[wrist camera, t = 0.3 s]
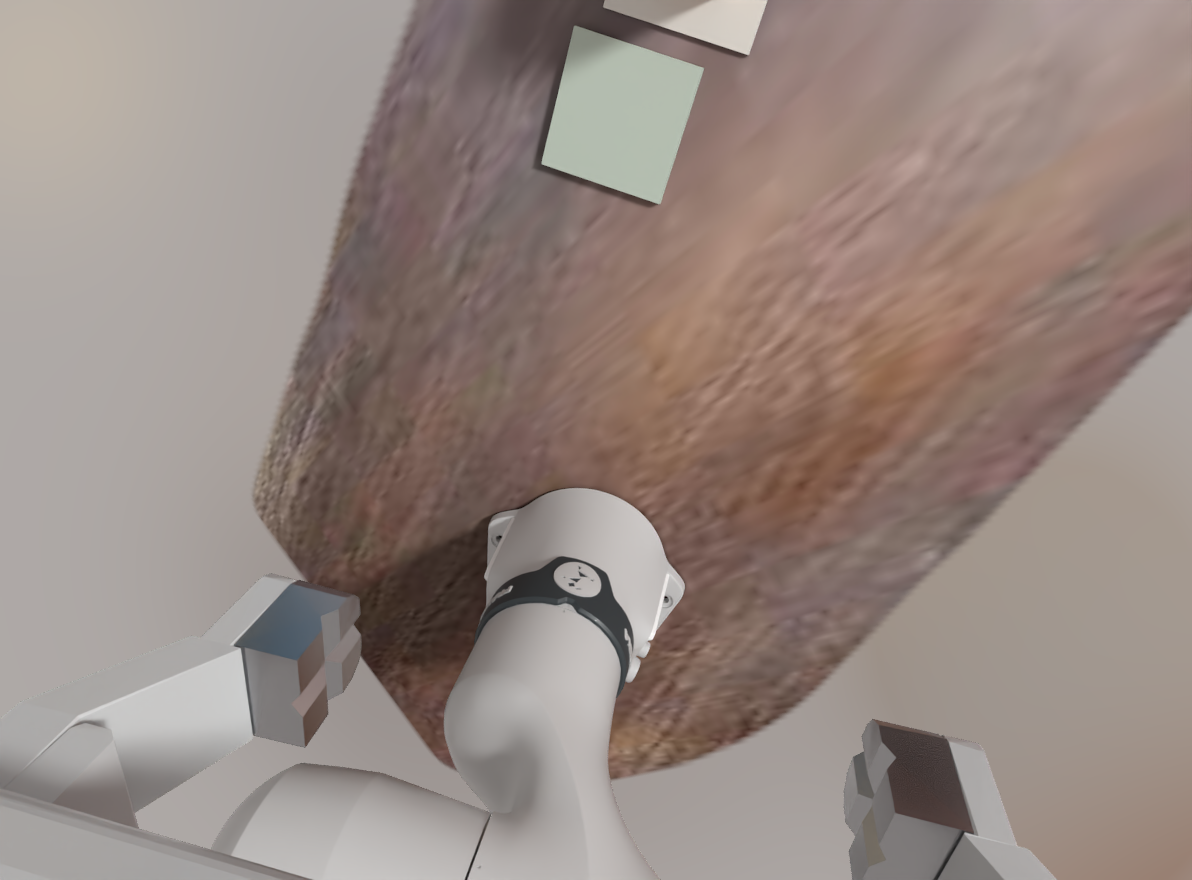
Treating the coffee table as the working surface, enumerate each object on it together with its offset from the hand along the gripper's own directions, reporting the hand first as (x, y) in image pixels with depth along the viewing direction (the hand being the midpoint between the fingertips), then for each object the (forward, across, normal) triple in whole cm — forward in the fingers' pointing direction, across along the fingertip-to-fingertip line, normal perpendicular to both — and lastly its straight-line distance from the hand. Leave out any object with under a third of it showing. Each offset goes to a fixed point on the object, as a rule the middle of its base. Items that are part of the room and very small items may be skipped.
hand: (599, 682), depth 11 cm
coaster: (+46, -8, +5) cm, 47 cm away
